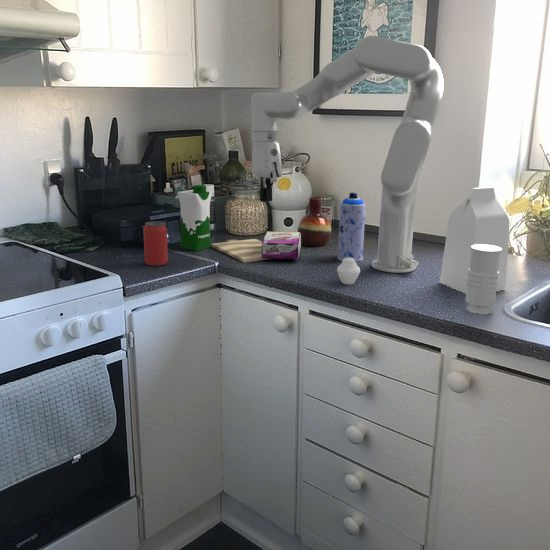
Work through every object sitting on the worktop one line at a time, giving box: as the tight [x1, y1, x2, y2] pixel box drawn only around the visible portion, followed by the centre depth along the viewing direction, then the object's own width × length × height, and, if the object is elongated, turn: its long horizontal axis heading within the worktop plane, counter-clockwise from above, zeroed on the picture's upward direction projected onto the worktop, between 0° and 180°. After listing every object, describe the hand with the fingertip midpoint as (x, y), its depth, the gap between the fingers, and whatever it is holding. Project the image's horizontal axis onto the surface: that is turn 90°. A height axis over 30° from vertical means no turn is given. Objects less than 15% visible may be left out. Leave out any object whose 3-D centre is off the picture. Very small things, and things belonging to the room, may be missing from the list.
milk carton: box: [177, 184, 213, 252], centre depth 196 cm, size 9×9×20 cm
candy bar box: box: [261, 230, 302, 260], centre depth 190 cm, size 11×5×16 cm
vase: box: [297, 196, 332, 247], centre depth 204 cm, size 11×11×15 cm
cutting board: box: [211, 238, 272, 263], centre depth 196 cm, size 24×16×1 cm, turn 31°
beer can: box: [142, 220, 169, 267], centre depth 178 cm, size 7×7×12 cm
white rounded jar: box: [336, 257, 361, 285], centre depth 163 cm, size 6×6×7 cm
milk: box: [439, 186, 510, 295], centre depth 159 cm, size 12×12×26 cm
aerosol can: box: [336, 192, 366, 263], centre depth 186 cm, size 8×8×20 cm
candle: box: [464, 244, 502, 315], centre depth 143 cm, size 7×7×15 cm
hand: (266, 200), depth 183 cm, fingers closed
